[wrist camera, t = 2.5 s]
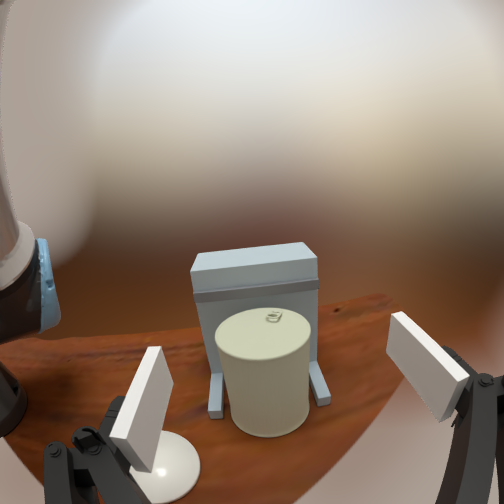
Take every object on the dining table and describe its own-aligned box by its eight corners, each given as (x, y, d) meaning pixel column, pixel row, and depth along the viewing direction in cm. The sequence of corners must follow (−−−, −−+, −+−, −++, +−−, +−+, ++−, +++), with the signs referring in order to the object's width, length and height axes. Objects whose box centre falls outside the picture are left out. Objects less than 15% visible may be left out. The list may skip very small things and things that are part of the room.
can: (318, 390, 31) (321, 308, 27) (293, 446, 23) (292, 364, 19) (252, 376, 35) (241, 298, 31) (216, 423, 27) (193, 341, 24)
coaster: (98, 486, 16) (95, 483, 16) (131, 426, 26) (130, 423, 26) (187, 515, 15) (185, 513, 15) (210, 440, 24) (209, 437, 24)
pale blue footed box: (329, 404, 28) (338, 280, 24) (210, 418, 28) (178, 298, 23) (305, 341, 41) (302, 242, 37) (216, 351, 41) (198, 253, 37)
